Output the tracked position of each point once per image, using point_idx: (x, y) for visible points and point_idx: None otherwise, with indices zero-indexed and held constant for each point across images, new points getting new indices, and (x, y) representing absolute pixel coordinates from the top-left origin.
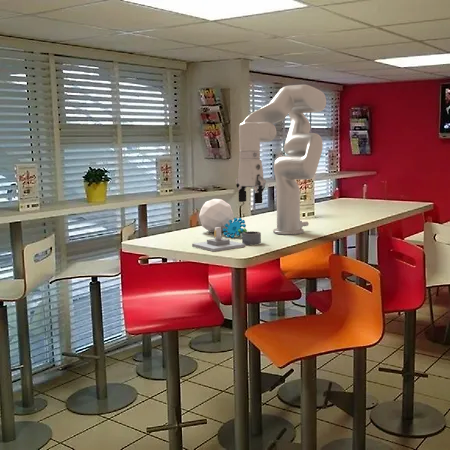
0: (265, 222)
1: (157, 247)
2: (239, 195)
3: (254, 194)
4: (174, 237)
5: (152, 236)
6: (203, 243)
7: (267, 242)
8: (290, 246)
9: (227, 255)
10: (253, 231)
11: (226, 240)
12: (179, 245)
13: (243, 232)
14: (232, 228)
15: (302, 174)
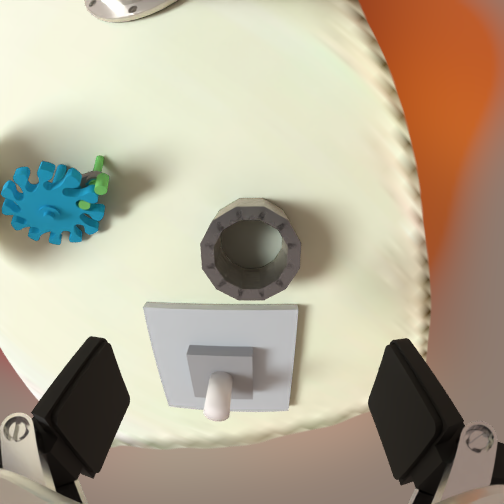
0: None
1: (142, 437)
2: (106, 444)
3: (391, 469)
4: (25, 342)
5: (8, 359)
6: (185, 390)
7: (281, 168)
8: (416, 168)
9: (358, 398)
10: (218, 218)
11: (252, 367)
12: (139, 407)
13: (211, 277)
14: (54, 220)
15: None
